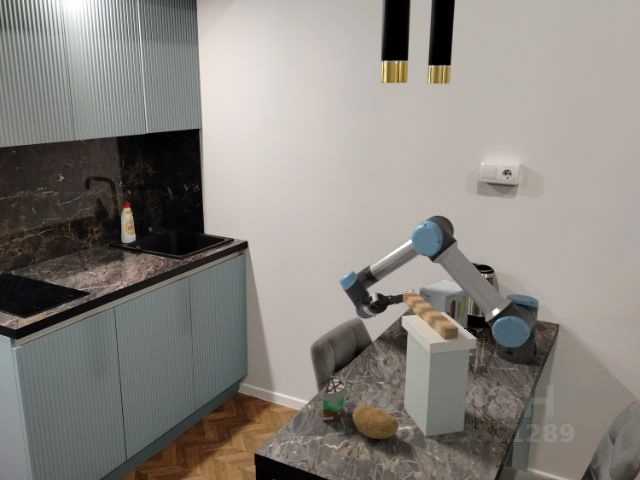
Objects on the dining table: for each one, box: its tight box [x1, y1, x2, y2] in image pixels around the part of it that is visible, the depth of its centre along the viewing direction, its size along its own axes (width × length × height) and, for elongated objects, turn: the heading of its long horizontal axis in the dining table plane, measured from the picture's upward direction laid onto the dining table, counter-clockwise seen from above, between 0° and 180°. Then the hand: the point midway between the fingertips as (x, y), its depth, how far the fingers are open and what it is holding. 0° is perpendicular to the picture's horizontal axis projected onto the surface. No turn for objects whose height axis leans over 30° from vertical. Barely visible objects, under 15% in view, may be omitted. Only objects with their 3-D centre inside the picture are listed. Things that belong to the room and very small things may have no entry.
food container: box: [322, 375, 348, 423], centre depth 182 cm, size 12×6×10 cm, turn 168°
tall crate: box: [401, 312, 478, 438], centre depth 177 cm, size 20×14×30 cm
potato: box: [352, 404, 399, 440], centre depth 171 cm, size 10×14×8 cm
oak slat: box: [402, 291, 458, 339], centre depth 179 cm, size 30×4×3 cm, turn 15°
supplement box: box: [418, 279, 470, 329], centre depth 244 cm, size 17×13×18 cm
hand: (395, 294), depth 205 cm, fingers open, 13 cm apart
